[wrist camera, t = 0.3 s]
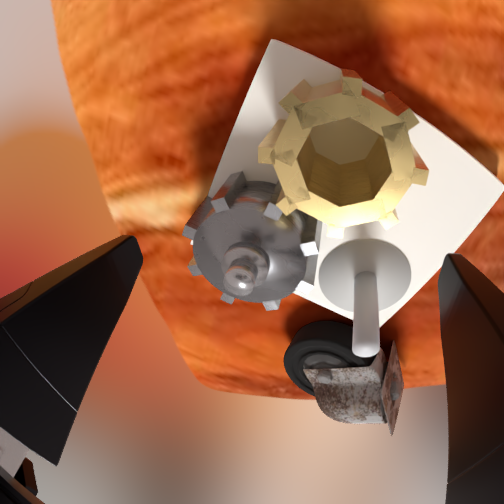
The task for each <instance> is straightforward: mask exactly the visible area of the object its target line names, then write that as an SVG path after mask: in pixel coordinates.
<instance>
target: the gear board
mask: <svg viewBox="0 0 504 504" xmlns="http://www.w3.org/2000/svg"><path fill="white" fill-rule="evenodd" d="M340 76H341V69H340V68H338V67H336V66H334V65H332V64H330V63H328V62H326V61H324V60H322V59H320V58H318V57H316V56H314V55H311V54H309V53H307V52H305V51H302V50H300V49H298V48H296V47H293V46H291V45H289V44H286V43H284V42H281V41H279V40H276V39H271V41H270V43H269V45H268V47H267V49H266V52H265V54H264V56H263V58H262V61H261V63H260V65H259V67H258V70H257V72H256V74H255V77H254V79H253V81H252V84H251V86H250V88H249V91H248V93H247V95H246V98H245V100H244V103H243V105H242V108H241V110H240V112H239V115H238V117H237V120H236V122H235V125H234V127H233V130H232V132H231V135H230V137H229V140H228V142H227V145H226V148H225V150H224V153H223V155H222V158H221V161H220V163H219V166H218V169H217V171H216V174H215V177H214V179H213V182H212V185H211V187H210V190H209V193H208V197H210V198H213V197H214V196H215V194H216V193H217V192H218V190H219V189H220V188H221V186H222V185H223V184H224V183H225V181H226V180H227V179H228V177H229V176H230V175H231V174H234V173H237V172H240V171H243V173H244V175H245V178H246V180H247V181H265V182H270V183H274V184H277V182H278V180H279V178H278V176H277V174H276V171H275V169H274V166H273V164H264V163H258V146H259V145H260V144H261V142H262V141H263V140H264V138H265V137H266V136H267V134H268V133H269V132H270V130H271V129H272V128H273V126H274V125H275V124H276V122H277V121H278V120H279V119H282V120H287V118H288V116H289V114H288V113H287V112H286V111H285V110H284V109H283V108H282V107H281V105H280V104H279V103H278V102H279V101H280V100H281V99H282V98H284V97H285V96H286V95H287V94H288V93H289V92H290V91H291V90H292V89H293V88H294V87H295V86H296V85H297V84H298V83H300V82H301V81H302V80H303V79H305V81H306V82H307V83H308V84H309V85H310V86H311V87H315V86H318V85H322V84H325V83H329V82H333V81H336V80H340ZM362 86H363V87H365V88H367V89H369V90H370V91H372V92H374V93H376V94H377V95H379V96H382V95H383V94H384V93H383V92H382V91H380V90H378V89H377V88H375V87H373V86H371V85H370V84H368V83H366V82H364V81H363V80H362ZM412 112H413V111H412ZM413 113H414V115H415V116H416V118H417V119H418V120H419V122H420V123H419V124H417V125H416V126H414V127H413V128H411V129H410V130H409V131H408V134H409V138H410V142H411V143H412V145H413V146H414V148H415V149H416V151H417V152H418V154H419V155H420V157H421V158H422V160H423V161H424V163H425V164H426V166H427V168H428V169H429V174H428V179H427V183H426V186H423V185H418V184H411V186H410V187H409V189H408V190H407V192H406V193H405V194H404V196H403V197H402V199H401V200H400V201H399V203H398V204H397V205H396V207H395V209H396V213H397V217H398V220H399V222H398V223H397V224H395V225H393V226H392V227H390V228H388V229H387V230H386V229H385V228H384V227H383V225H382V224H381V223H380V221H379V220H377V221H372V222H367V223H362V224H357V225H352V226H347V227H344V232H343V237H342V238H335V237H328V236H327V231H328V224H326V223H324V222H323V223H322V232H321V240H320V248H319V254H318V260H317V267H316V274H315V281H314V286H313V288H312V289H311V290H310V292H309V293H308V294H305V293H303V292H300V291H298V290H295V291H294V292H293V293H295V294H297V295H299V296H301V297H303V298H306V299H308V300H310V301H312V302H314V303H316V304H318V305H321V306H323V307H325V308H327V309H329V310H332V311H334V312H336V313H338V314H340V315H342V316H345V317H347V318H349V319H351V320H353V342H352V351H353V353H354V354H355V355H357V356H360V357H371V356H374V355H376V354H377V353H378V352H379V350H380V332H379V328H380V327H381V326H382V325H383V324H384V323H385V322H386V321H387V320H388V319H389V318H391V317H392V316H393V315H394V314H395V313H396V312H397V311H398V310H399V309H400V308H401V307H402V306H403V305H404V304H405V303H406V302H407V301H408V300H409V299H410V298H411V297H412V296H413V295H414V294H415V293H416V292H417V291H418V290H419V289H420V288H421V287H422V286H423V285H424V284H425V283H426V282H427V281H428V280H429V279H430V278H431V277H432V276H433V275H434V274H435V273H436V272H437V271H438V270H439V268H440V267H441V266H442V265H443V261H444V258H445V256H446V254H448V253H454V252H455V251H456V250H457V249H458V247H459V246H460V245H461V244H462V243H463V242H464V240H465V239H466V238H467V237H468V236H469V235H470V233H471V232H472V231H473V230H474V229H475V227H476V226H477V225H478V224H479V222H480V221H481V220H482V219H483V217H484V216H485V215H486V214H487V212H488V211H489V210H490V209H491V207H492V206H493V205H494V203H495V202H496V201H497V199H498V198H499V197H500V195H501V194H502V193H503V191H504V185H503V183H502V182H501V181H500V180H499V179H498V178H497V177H496V176H495V175H494V174H493V173H492V172H491V171H489V170H488V169H487V168H486V167H485V166H484V165H483V164H481V163H480V162H479V161H478V160H477V159H476V158H474V157H473V156H472V155H471V154H470V153H468V152H467V151H466V150H465V149H464V148H462V147H461V146H460V145H459V144H457V143H456V142H455V141H453V140H452V139H451V138H450V137H448V136H447V135H446V134H444V133H443V132H442V131H440V130H439V129H438V128H436V127H435V126H433V125H432V124H431V123H429V122H428V121H426V120H425V119H424V118H422V117H421V116H419V115H418V114H416V113H415V112H413ZM309 134H310V137H311V140H312V143H313V145H314V148H315V151H316V152H317V153H318V154H320V155H322V156H324V157H326V158H328V159H330V160H332V161H334V162H335V163H337V164H339V165H341V164H345V163H350V162H354V161H358V160H363V159H365V158H366V157H367V155H368V153H369V152H370V150H371V149H372V147H373V145H374V144H375V142H376V140H377V139H378V134H377V132H375V131H373V130H371V129H370V128H368V127H366V126H365V125H363V124H361V123H359V122H358V121H356V120H354V119H352V118H350V117H348V118H344V119H340V120H336V121H333V122H329V123H325V124H321V125H318V126H314V127H312V129H311V131H310V133H309ZM191 244H192V245H193V240H192V241H191Z"/></svg>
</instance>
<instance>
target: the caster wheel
mask: <svg viewBox="0 0 504 504" xmlns="http://www.w3.org/2000/svg"><path fill="white" fill-rule="evenodd" d="M352 342H353V327H351V326H348V325H346V324H343V323H339V322H334V321H318V322H314V323H310V324H308V325H306V326H304V327H302V328H301V329H300V330H299V331H298V332H297V333H296V335H295V337H294V338H293V340H292V342H291V343H290V345H289V347H288V349H287V350H286V352H285V355H284V366H285V370H286V372H287V374H288V376H289V377H290V378H291V380H292V381H293V382H294V383H295V384H296V385H297V386H298V387H299V388H301V389H302V390H304V391H305V392H307V393H308V394H311V395H313V396H315V397H316V400H317V403H318V405H319V407H320V409H321V410H322V411H323V413H324V414H326V415H327V416H328V417H330V418H332V419H333V420H336V421H339V422H343V423H354V424H385V423H387V422H388V426H389V430H390V434H391V436H392V435H393V432H394V428H395V424H396V419H397V415H398V411H399V407H400V402H401V397H402V392H403V388H404V382H403V377H402V372H401V368H400V363H399V358H398V354H397V349H396V345H395V342H394V340H393V343H392V348H391V353H390V357H389V362H387V361H386V357H385V354H384V352H383V350H382V349H381V348H380V350H379V352H378V353H377V354H376V355H374V356H371V357H360V356H357V355H355V354H354V353H353V351H352Z"/></svg>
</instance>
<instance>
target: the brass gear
mask: <svg viewBox="0 0 504 504" xmlns="http://www.w3.org/2000/svg"><path fill="white" fill-rule="evenodd" d="M278 103H279V104H280V105H281V107H282V108H283V109H284V110H285V111H286V112H287V113H288V114H289V116H288V118H287V120H282V119H279V120H278V121H277V122H276V124H275V125H274V126H273V128H272V129H271V130H270V132H269V133H268V134H267V136H266V137H265V138H264V140H263V141H262V142H261V144H260V145H259V146H258V163H264V164H273V166H274V169H275V171H276V174H277V176H278V178H279V181H280V183H281V186H282V189H281V192H280V194H279V197H278V200H277V202H276V206H277V207H278V208H279V209H280V210H281V211H282V212H283V213H284V214H285V215H286V216H287V215H288V214H290V213H291V212H293V211H294V210H295V209H299V210H301V211H303V212H305V213H307V214H309V215H311V216H313V217H315V218H316V219H318V220H320V221H322V222H324V223H326V224H328V231H327V236H328V237H335V238H342V237H343V232H344V227H347V226H352V225H357V224H362V223H367V222H372V221H377V220H379V221H380V223H381V224H382V225H383V227H384V228H385V229H386V230H387V229H388V228H390V227H392V226H393V225H395V224H397V223H398V222H399V220H398V217H397V213H396V209H395V207H396V205H397V204H398V203H399V201H400V200H401V199H402V197H403V196H404V194H405V193H406V192H407V190H408V189H409V187H410V186H411V184H418V185H423V186H426V183H427V179H428V174H429V169H428V168H427V166H426V164H425V163H424V161H423V160H422V158H421V157H420V155H419V154H418V152H417V151H416V149H415V148H414V146H413V145H412V143H411V142H410V138H409V134H408V131H409V130H410V129H411V128H413V127H414V126H416V125H417V124H419V123H420V122H419V120H418V119H417V118H416V116H415V115H414V113H413V112H412V110H411V109H410V108H409V107H408V106H407V105H406V104H405V103H404V102H403V101H401V100H400V99H399V98H398V97H397V96H396V95H395V94H393V93H392V92H391V91H390V90H389V91H387V92H386V93H384V94H383V95H382V96H379V95H377V94H376V93H374V92H372V91H370V90H369V89H367V88H365V87H363V86H362V78H361V77H360V76H359V75H358V73H357V72H356V71H355V70H350V69H342V68H341V76H340V80H336V81H333V82H329V83H325V84H322V85H318V86H315V87H311V86H310V85H309V84H308V83H307V82H306V81H305V79H303V80H302V81H301V82H300V83H298V84H297V85H296V86H295V87H294V88H293V89H292V90H291V91H290V92H289V93H288V94H287V95H286V96H285V97H284V98H282V99H281V100H280V101H279V102H278ZM348 117H350V118H352V119H354V120H356V121H358V122H359V123H361V124H363V125H365V126H366V127H368V128H370V129H371V130H373V131H375V132H377V134H378V139H377V140H376V142H375V144H374V145H373V147H372V149H371V150H370V152H369V153H368V155H367V157H366V158H365V159H363V160H358V161H354V162H350V163H345V164H341V165H339V164H337V163H335V162H334V161H332V160H330V159H328V158H326V157H324V156H322V155H320V154H318V153H317V152H316V151H315V148H314V145H313V143H312V140H311V137H310V134H309V133H310V131H311V129H312V127H314V126H318V125H321V124H325V123H329V122H333V121H336V120H340V119H344V118H348Z"/></svg>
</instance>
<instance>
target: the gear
mask: <svg viewBox="0 0 504 504" xmlns="http://www.w3.org/2000/svg"><path fill="white" fill-rule="evenodd" d="M281 189H282V186H281V183H280V181H279V180H278V182H277V184H274V183H270V182H265V181H247V180H246V178H245V175H244V173H243V171H240V172H237V173H234V174H231V175H230V176H229V177H228V179H227V180H226V181H225V183H224V184H223V185H222V186H221V188H220V189H219V190H218V192H217V193H216V194H215V196H214V197H213V198H210V197H208V196H207V197H206V198H205V200H204V201H203V202H202V204H201V205H200V206H199V207H198V209H197V210H196V211H195V213H194V214H193V215H192V217H191V218H190V219H189V221H188V222H187V223H186V225H185V227H184V231H183V234H182V235H183V236H185V237H187V238H189V239H191V240H193V254H194V256H193V258H192V260H191V261H190V263H189V264H188V266H187V267H188V268H189V270H190V271H191V273H192V275H193V276H197V275H204V276H205V278H206V279H207V280H208V281H209V282H210V283H211V284H212V285H214V286H215V287H216V288H217V289H219V290H220V291H222V292H223V294H222V296H221V298H220V299H221V300H223V301H225V302H227V303H229V304H232V302H233V301H234V299H235V298H237V299H240V300H244V301H248V302H257V303H263V305H264V307H265V308H266V310H267V311H268V310H277V309H279V305H280V301H281V299H282V298H285V297H287V296H288V295H290V294H292V293H293V292H294V291H295V290H298V291H300V292H303V293H305V294H308V293H309V292H310V290H311V289H312V288H313V286H314V281H315V274H316V267H317V260H318V254H319V248H320V240H321V232H322V223H323V222H322V221H320V220H318V219H316V218H315V217H313V216H311V215H309V214H307V213H305V212H303V211H301V210H299V209H295V210H294V211H293V212H291V213H290V214H288V215H287V216H286V215H285V214H284V213H283V212H282V211H281V210H280V209H279V208H278V207H277V206H276V202H277V200H278V197H279V194H280V192H281Z"/></svg>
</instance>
